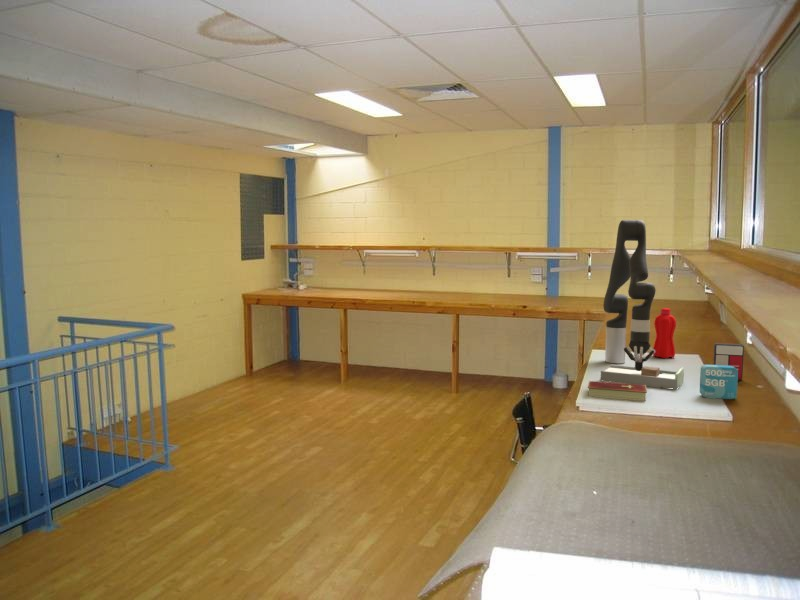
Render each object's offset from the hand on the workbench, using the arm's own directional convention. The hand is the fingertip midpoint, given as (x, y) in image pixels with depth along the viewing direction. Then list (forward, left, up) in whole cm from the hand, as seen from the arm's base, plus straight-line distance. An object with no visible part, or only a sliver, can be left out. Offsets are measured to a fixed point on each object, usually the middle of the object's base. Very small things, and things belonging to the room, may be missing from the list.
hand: (638, 370), depth 263 cm
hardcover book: (+30, -2, -5) cm, 31 cm away
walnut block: (0, +5, -1) cm, 5 cm away
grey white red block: (-25, +31, -5) cm, 41 cm away
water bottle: (-65, -2, -5) cm, 65 cm away
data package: (+13, +31, -5) cm, 34 cm away
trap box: (0, +1, -4) cm, 5 cm away
